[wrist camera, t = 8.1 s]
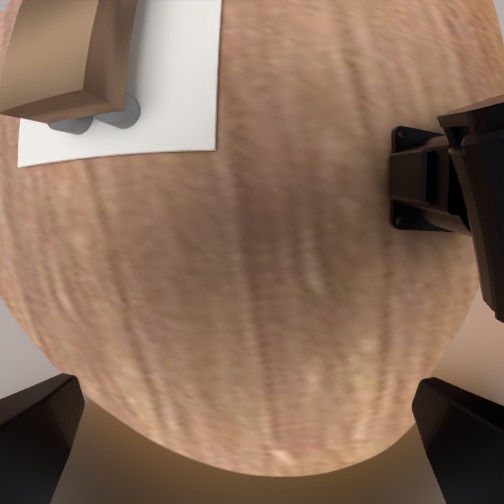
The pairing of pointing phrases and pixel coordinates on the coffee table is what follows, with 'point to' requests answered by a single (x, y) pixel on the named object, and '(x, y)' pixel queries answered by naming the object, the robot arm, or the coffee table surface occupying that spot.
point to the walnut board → (67, 59)
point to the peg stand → (147, 92)
